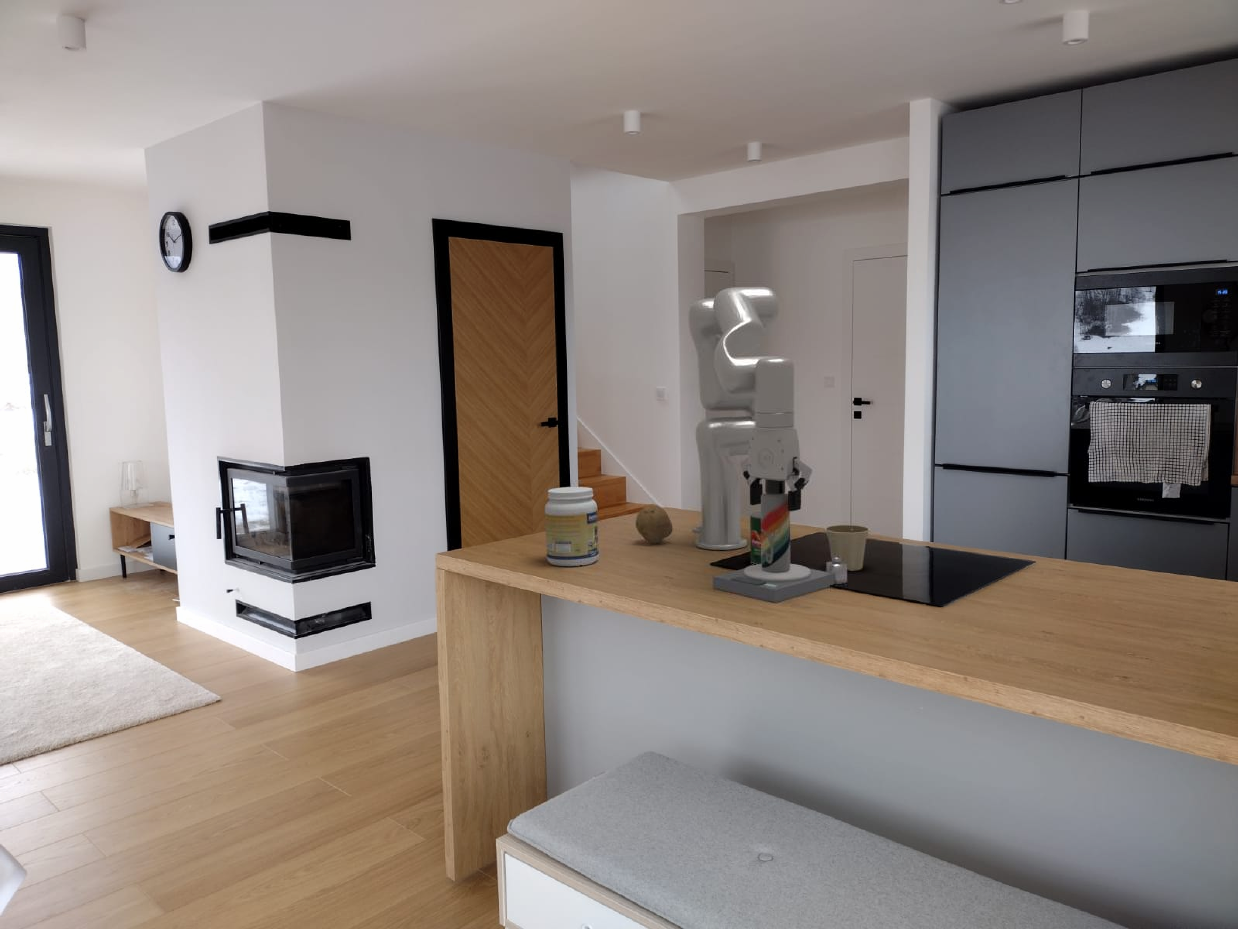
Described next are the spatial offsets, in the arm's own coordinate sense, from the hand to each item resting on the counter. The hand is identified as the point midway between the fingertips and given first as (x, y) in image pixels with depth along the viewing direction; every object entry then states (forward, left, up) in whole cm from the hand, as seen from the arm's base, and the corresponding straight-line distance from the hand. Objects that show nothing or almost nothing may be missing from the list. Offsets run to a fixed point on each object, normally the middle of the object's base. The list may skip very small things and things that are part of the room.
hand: (774, 507), depth 175 cm
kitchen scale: (+1, -1, -16) cm, 16 cm away
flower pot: (+2, +22, -16) cm, 27 cm away
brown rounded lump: (-50, +13, -16) cm, 54 cm away
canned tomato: (-14, +15, -16) cm, 26 cm away
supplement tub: (-48, -14, -16) cm, 53 cm away
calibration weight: (+8, +10, -16) cm, 20 cm away
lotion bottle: (0, 0, -13) cm, 13 cm away
